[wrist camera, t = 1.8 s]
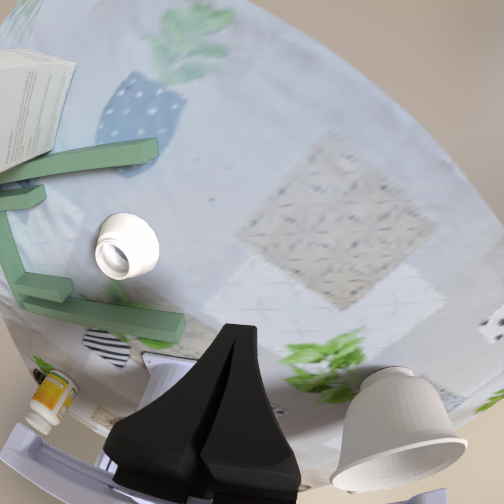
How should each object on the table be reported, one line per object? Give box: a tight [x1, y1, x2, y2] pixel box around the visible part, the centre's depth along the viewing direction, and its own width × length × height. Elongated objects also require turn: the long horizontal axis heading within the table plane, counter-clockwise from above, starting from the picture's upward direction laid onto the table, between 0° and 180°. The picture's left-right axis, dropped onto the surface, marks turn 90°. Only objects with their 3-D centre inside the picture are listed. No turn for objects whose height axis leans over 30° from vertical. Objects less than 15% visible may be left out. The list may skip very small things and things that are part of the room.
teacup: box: [330, 367, 468, 494], centre depth 22 cm, size 12×15×10 cm
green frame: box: [0, 138, 186, 343], centre depth 19 cm, size 15×20×8 cm
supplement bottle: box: [26, 370, 78, 435], centre depth 31 cm, size 5×5×10 cm
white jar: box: [95, 212, 159, 280], centre depth 20 cm, size 5×3×5 cm
